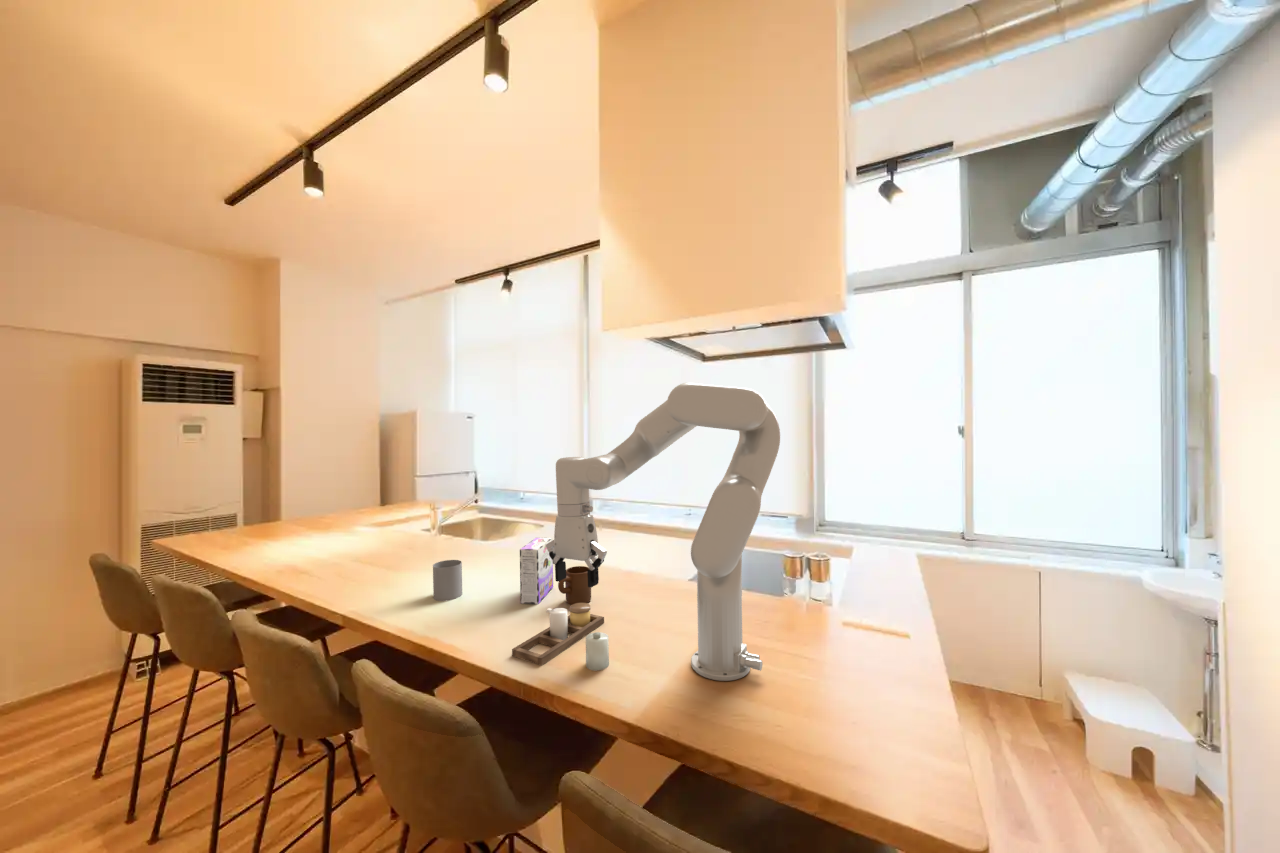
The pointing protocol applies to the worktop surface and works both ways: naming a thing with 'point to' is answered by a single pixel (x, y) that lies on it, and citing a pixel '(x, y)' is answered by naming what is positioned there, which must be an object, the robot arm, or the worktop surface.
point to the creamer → (558, 623)
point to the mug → (576, 585)
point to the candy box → (535, 571)
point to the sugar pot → (597, 651)
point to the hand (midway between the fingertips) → (576, 582)
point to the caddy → (554, 641)
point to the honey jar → (580, 614)
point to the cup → (447, 580)
